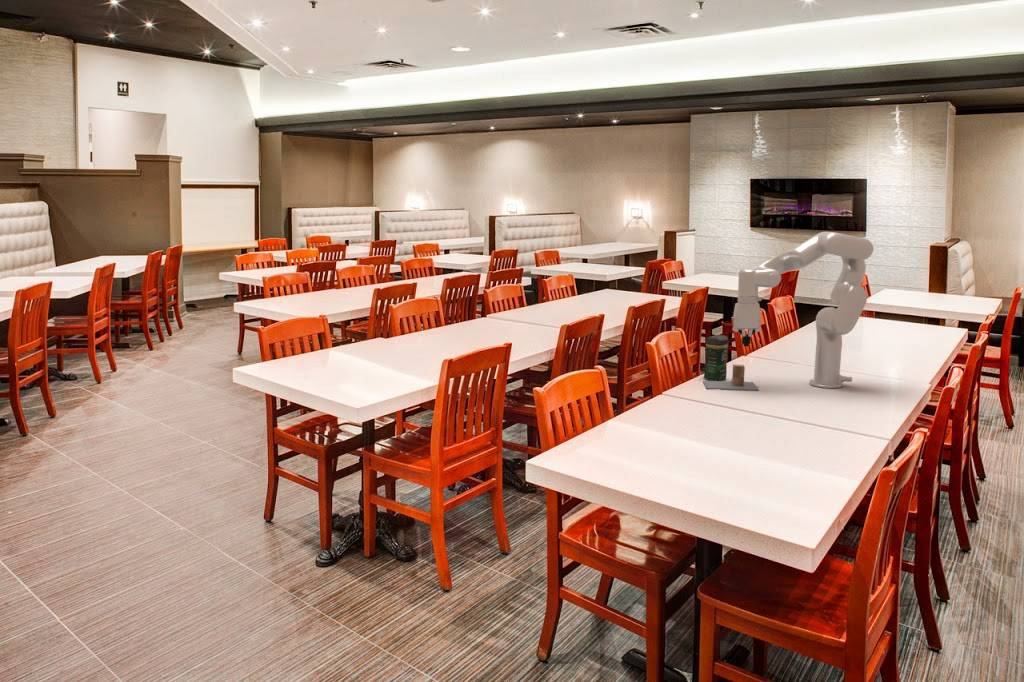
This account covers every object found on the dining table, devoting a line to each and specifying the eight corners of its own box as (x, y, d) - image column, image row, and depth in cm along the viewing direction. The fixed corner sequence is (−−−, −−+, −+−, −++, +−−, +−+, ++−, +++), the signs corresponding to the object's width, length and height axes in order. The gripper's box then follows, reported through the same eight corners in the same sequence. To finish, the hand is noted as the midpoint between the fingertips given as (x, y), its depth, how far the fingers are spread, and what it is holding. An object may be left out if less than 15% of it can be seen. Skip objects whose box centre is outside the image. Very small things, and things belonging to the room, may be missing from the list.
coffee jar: (718, 382, 311) (720, 338, 308) (701, 379, 316) (703, 335, 313) (729, 378, 318) (731, 335, 315) (712, 375, 323) (714, 332, 320)
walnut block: (742, 384, 305) (743, 364, 304) (743, 386, 301) (744, 366, 300) (732, 383, 306) (733, 364, 304) (733, 386, 302) (734, 366, 300)
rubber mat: (752, 383, 309) (752, 381, 309) (758, 390, 296) (758, 389, 296) (702, 381, 312) (702, 380, 311) (706, 389, 299) (706, 387, 299)
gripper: (765, 299, 300) (763, 344, 303) (726, 299, 302) (725, 344, 305) (769, 301, 292) (767, 347, 296) (729, 301, 294) (728, 347, 298)
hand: (745, 345), depth 300 cm, fingers closed
